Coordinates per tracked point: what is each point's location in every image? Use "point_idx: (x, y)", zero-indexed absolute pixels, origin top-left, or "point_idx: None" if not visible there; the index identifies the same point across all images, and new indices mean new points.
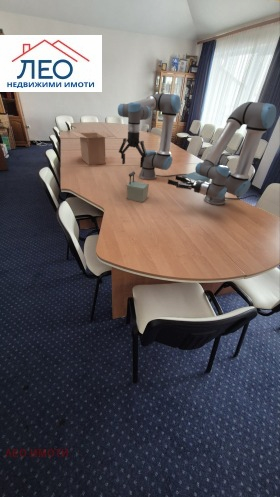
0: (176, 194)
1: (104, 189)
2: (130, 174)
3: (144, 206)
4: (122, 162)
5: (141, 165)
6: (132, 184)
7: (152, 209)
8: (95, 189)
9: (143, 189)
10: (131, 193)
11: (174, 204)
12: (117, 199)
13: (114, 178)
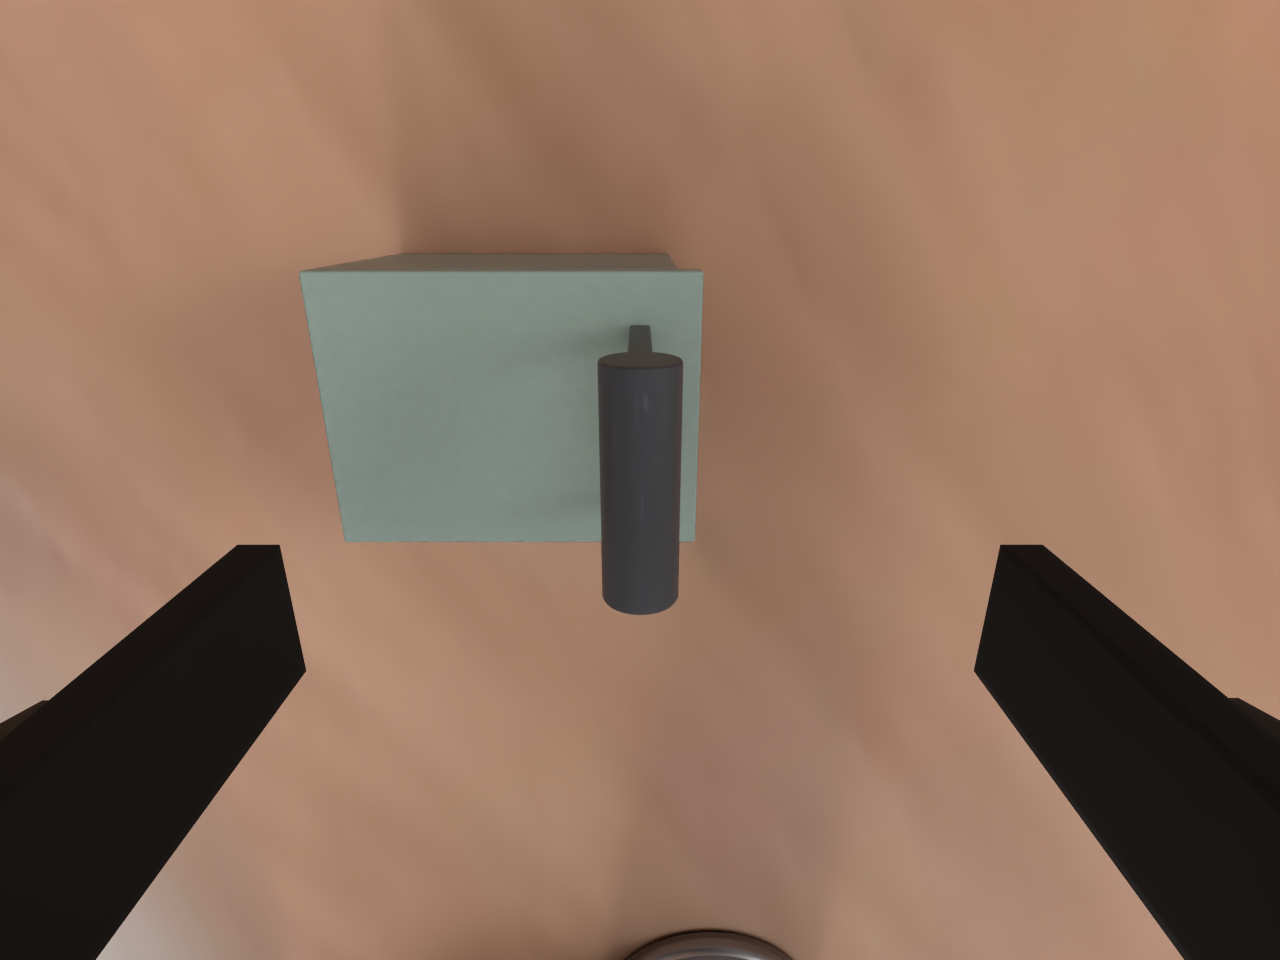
0: None
1: (1115, 407)
2: (627, 363)
3: (306, 129)
4: (1072, 576)
5: (195, 597)
6: (596, 362)
7: (149, 87)
8: (1255, 336)
9: (308, 270)
10: (583, 260)
11: (5, 429)
12: (792, 154)
13: None
